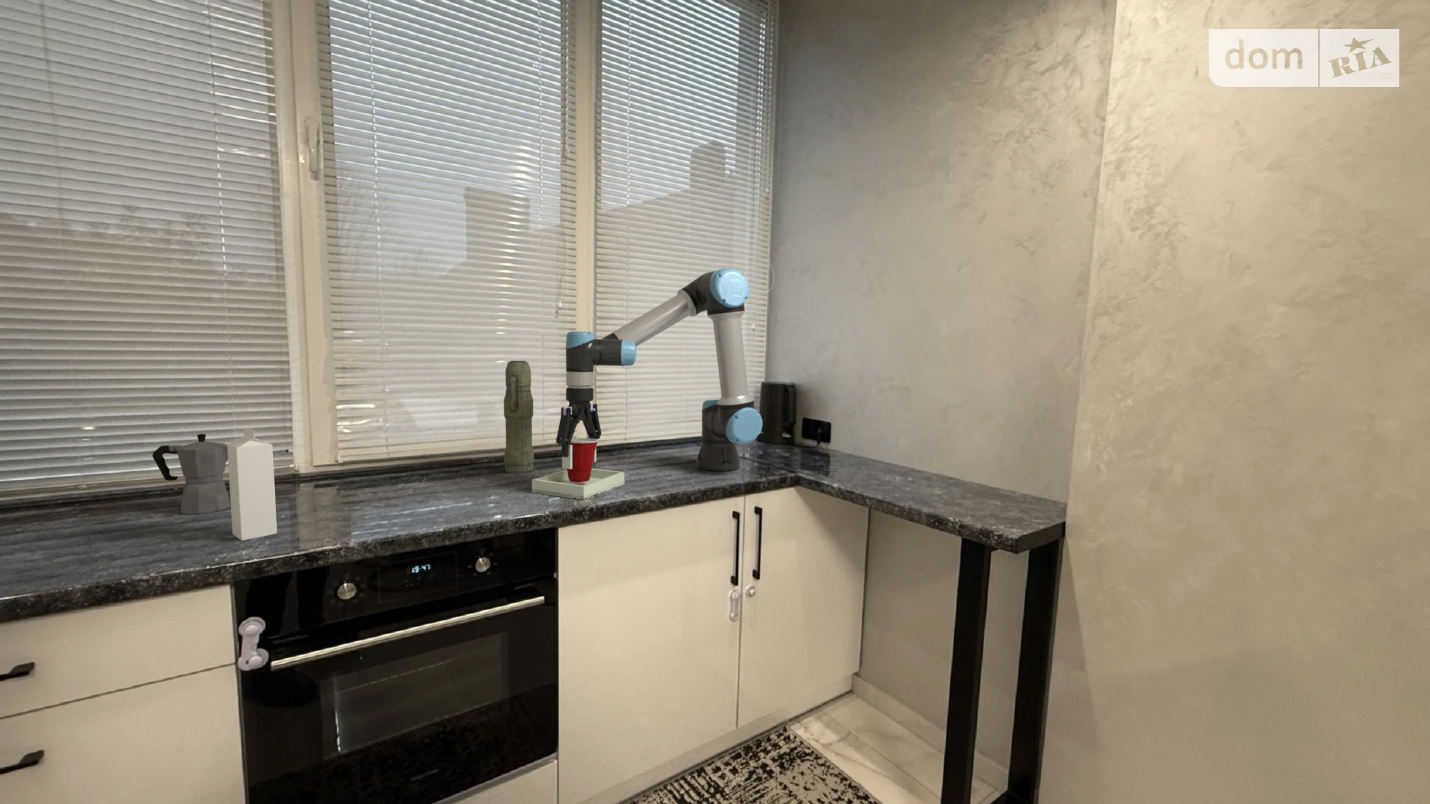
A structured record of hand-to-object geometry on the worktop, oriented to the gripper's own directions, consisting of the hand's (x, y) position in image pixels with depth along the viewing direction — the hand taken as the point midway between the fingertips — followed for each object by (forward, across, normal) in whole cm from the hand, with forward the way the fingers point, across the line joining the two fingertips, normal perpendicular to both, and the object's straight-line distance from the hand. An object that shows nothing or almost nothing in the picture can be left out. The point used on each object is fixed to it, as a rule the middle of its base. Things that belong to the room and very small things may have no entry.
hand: (579, 464), depth 164 cm
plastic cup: (+5, 0, 0) cm, 5 cm away
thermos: (+7, -10, -30) cm, 33 cm away
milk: (+7, +63, -36) cm, 73 cm away
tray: (+7, 0, 0) cm, 7 cm away
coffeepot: (+7, +58, -66) cm, 88 cm away
